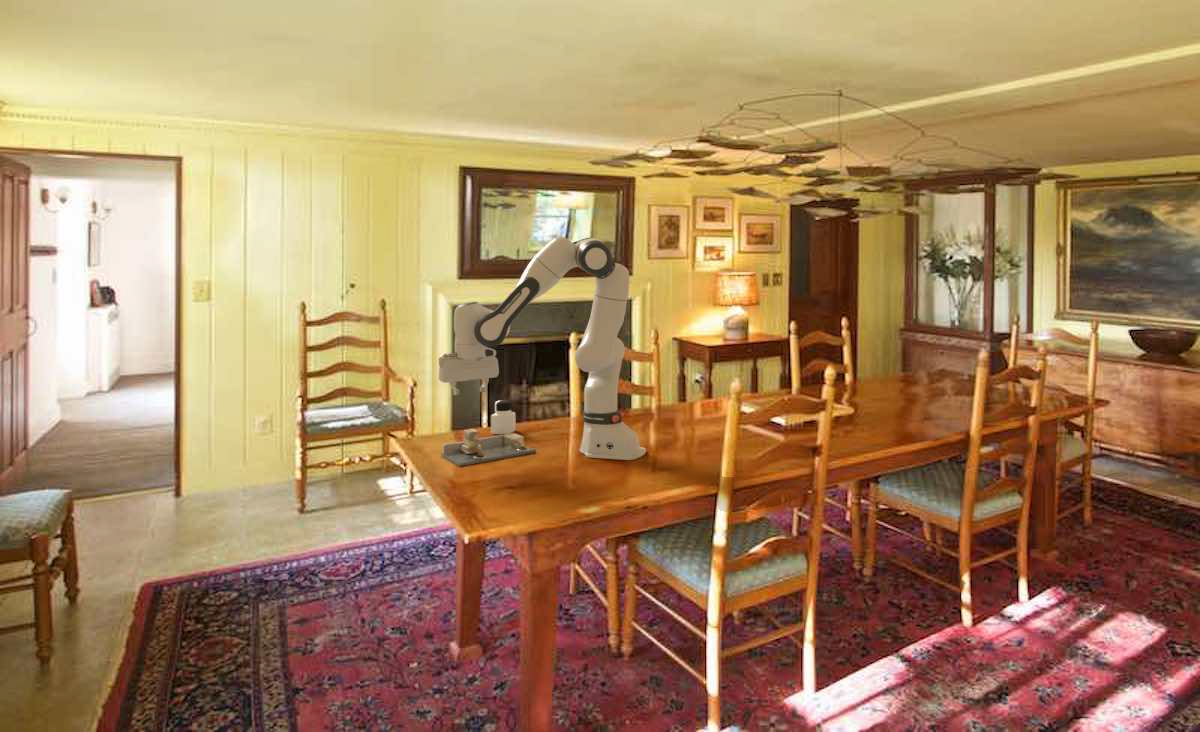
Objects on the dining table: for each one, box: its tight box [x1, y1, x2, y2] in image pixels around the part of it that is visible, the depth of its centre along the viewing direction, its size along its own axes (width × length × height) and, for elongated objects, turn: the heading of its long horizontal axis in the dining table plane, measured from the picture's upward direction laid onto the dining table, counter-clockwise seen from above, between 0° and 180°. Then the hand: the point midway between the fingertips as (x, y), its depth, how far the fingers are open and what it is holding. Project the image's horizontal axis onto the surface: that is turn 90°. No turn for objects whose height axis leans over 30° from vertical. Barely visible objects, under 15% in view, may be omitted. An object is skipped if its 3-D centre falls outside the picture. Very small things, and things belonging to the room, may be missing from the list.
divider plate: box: [440, 432, 537, 467], centre depth 249 cm, size 28×14×4 cm, turn 125°
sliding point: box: [461, 428, 482, 455], centre depth 247 cm, size 5×10×7 cm, turn 35°
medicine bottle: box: [490, 399, 517, 435], centre depth 279 cm, size 7×7×12 cm
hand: (469, 393), depth 246 cm, fingers open, 8 cm apart
